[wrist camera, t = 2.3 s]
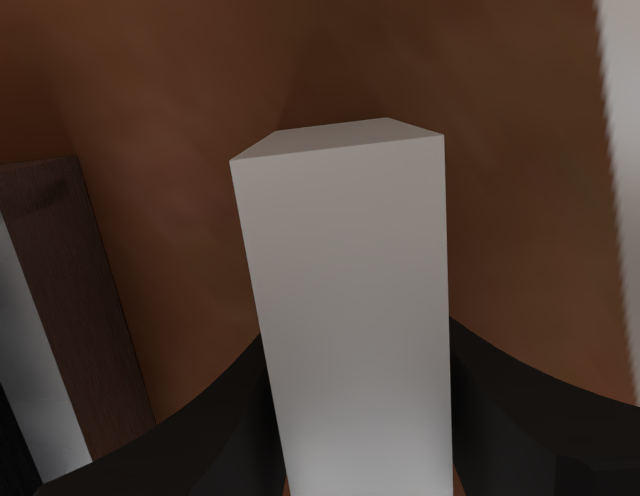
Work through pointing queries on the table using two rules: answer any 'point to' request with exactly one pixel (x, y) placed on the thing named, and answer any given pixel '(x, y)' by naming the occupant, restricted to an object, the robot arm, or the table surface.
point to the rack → (59, 332)
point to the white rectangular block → (353, 303)
